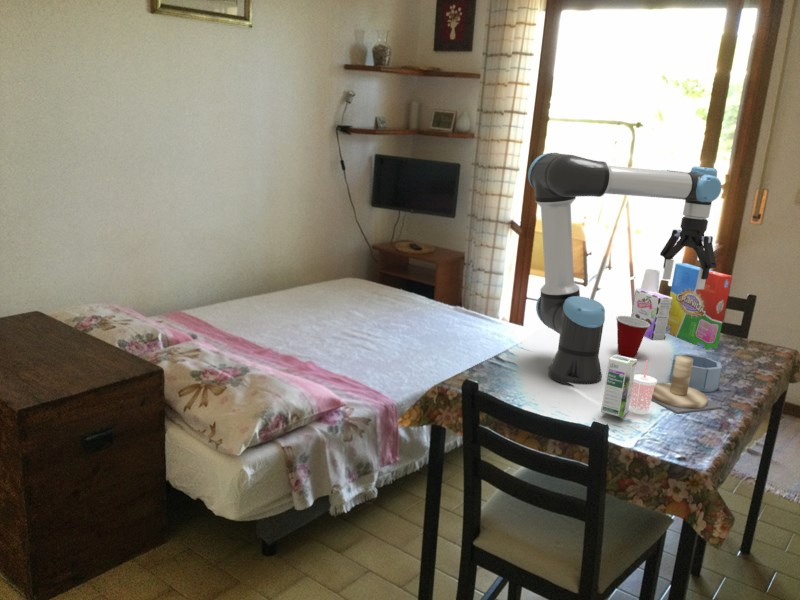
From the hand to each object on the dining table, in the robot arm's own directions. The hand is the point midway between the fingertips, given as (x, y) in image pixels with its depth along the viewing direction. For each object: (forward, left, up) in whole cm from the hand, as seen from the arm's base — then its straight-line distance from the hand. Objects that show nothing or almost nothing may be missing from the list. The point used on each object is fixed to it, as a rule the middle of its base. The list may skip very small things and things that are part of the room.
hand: (682, 284), depth 216 cm
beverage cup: (-42, -33, -26) cm, 59 cm away
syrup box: (-49, -32, -26) cm, 64 cm away
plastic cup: (-11, +7, -26) cm, 29 cm away
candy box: (+12, +24, -26) cm, 37 cm away
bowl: (-10, -20, -25) cm, 34 cm away
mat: (-25, -29, -25) cm, 46 cm away
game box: (+23, +14, -26) cm, 37 cm away
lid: (-25, -29, -25) cm, 46 cm away
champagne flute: (+13, +27, -26) cm, 40 cm away
